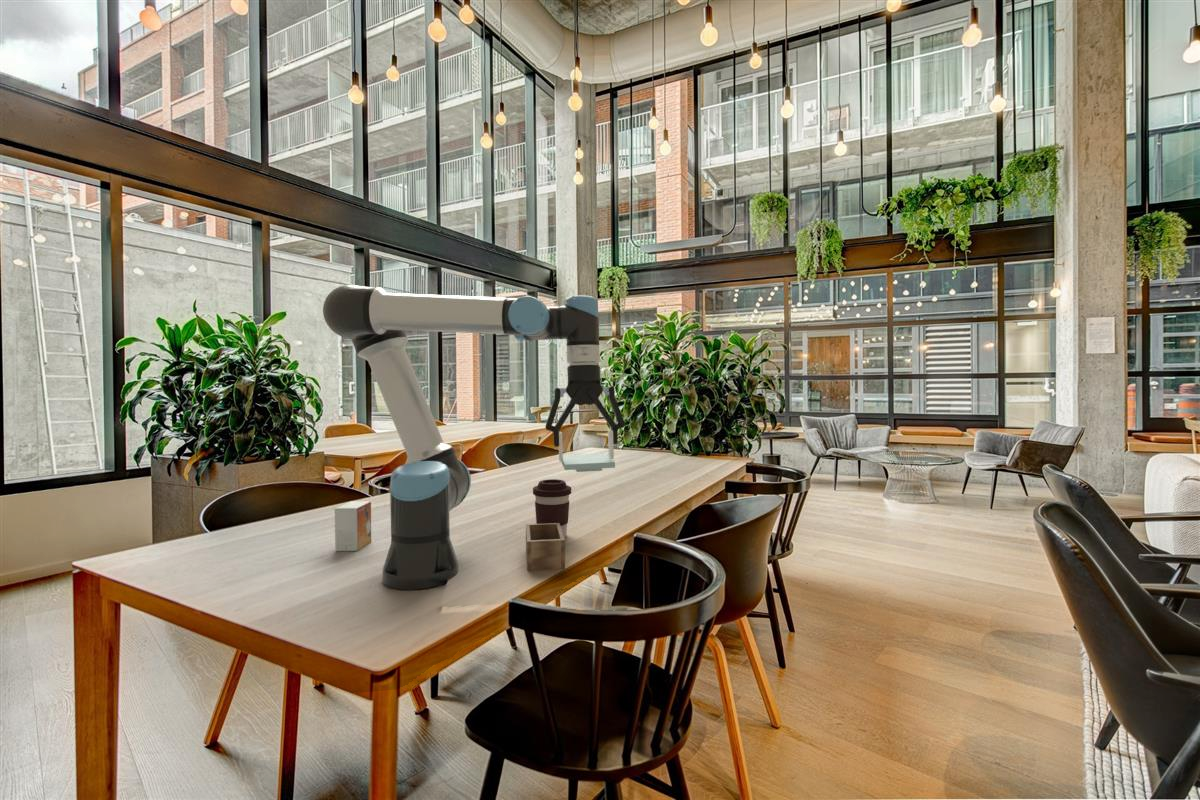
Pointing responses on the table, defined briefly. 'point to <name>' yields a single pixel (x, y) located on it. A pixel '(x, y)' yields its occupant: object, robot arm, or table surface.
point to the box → (545, 547)
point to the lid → (587, 462)
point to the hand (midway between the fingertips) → (586, 459)
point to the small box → (352, 526)
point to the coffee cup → (552, 502)
